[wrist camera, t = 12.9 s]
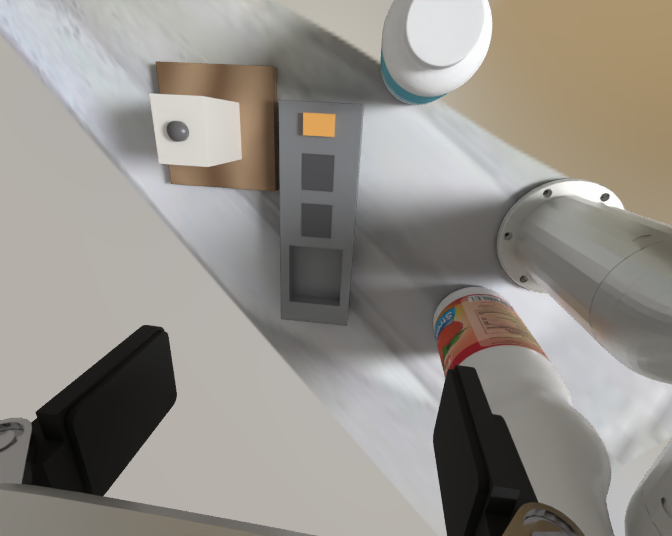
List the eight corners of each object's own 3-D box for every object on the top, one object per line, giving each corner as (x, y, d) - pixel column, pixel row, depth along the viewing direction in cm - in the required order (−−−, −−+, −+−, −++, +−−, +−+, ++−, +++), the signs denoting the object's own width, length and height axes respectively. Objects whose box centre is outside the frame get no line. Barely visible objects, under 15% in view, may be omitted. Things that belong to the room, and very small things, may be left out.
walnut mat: (276, 68, 35) (273, 66, 34) (278, 189, 39) (275, 191, 38) (162, 63, 36) (155, 61, 35) (176, 182, 40) (171, 183, 39)
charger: (239, 102, 35) (198, 95, 27) (241, 159, 37) (205, 167, 29) (196, 100, 36) (144, 92, 28) (201, 156, 38) (154, 164, 30)
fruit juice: (517, 342, 43) (715, 667, 18) (440, 356, 45) (517, 665, 20) (505, 275, 40) (727, 553, 14) (423, 294, 42) (489, 565, 17)
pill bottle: (448, 110, 35) (488, 100, 22) (374, 100, 35) (372, 85, 22) (469, 21, 32) (528, -49, 19) (388, 10, 32) (395, -64, 20)
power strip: (363, 105, 35) (362, 103, 32) (348, 313, 44) (346, 328, 41) (286, 102, 36) (277, 99, 33) (287, 307, 45) (279, 321, 42)
